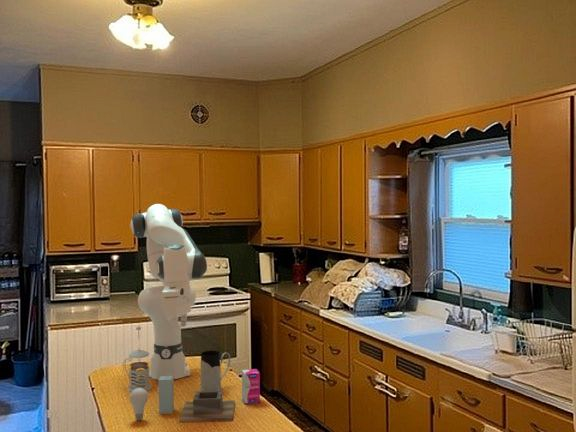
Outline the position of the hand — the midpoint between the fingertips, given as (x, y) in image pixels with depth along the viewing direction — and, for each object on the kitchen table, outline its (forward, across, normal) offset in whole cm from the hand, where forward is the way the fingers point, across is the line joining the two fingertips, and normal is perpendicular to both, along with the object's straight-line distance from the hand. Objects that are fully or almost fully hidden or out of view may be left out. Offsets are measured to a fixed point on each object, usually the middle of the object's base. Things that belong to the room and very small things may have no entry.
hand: (180, 328), depth 208 cm
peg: (+29, 0, -7) cm, 30 cm away
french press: (+27, -26, -27) cm, 46 cm away
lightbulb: (+29, +9, -14) cm, 34 cm away
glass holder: (+29, -26, +5) cm, 39 cm away
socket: (+30, 0, +8) cm, 31 cm away
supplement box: (+31, -13, +22) cm, 39 cm away
